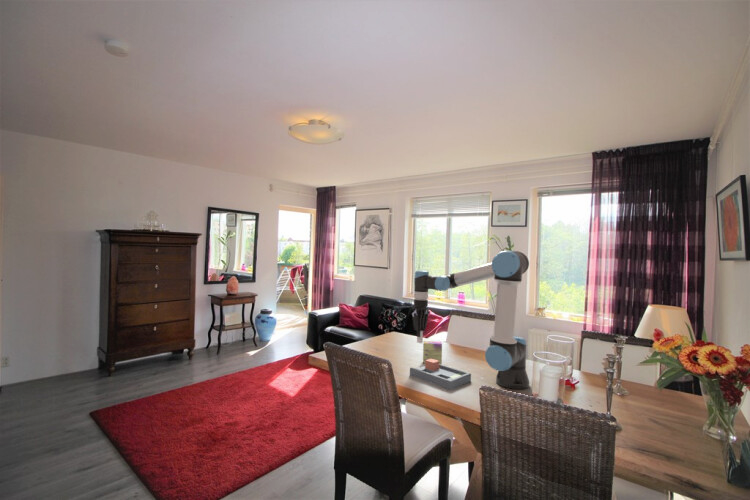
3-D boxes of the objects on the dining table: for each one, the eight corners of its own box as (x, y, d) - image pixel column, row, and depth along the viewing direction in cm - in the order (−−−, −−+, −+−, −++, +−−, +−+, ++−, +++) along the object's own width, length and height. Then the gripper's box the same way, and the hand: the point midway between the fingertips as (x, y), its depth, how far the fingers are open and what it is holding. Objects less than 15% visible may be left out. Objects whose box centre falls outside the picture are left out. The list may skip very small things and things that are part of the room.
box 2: (470, 381, 175) (470, 373, 175) (450, 390, 164) (450, 381, 164) (430, 368, 194) (430, 361, 194) (409, 375, 182) (409, 367, 182)
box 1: (440, 361, 206) (441, 341, 207) (441, 364, 201) (442, 343, 201) (422, 360, 207) (423, 340, 208) (423, 363, 202) (423, 343, 202)
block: (439, 368, 186) (439, 360, 186) (433, 370, 183) (433, 362, 183) (431, 365, 190) (431, 358, 190) (425, 367, 187) (425, 360, 187)
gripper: (423, 297, 200) (422, 339, 200) (407, 299, 191) (406, 342, 191) (433, 299, 195) (432, 342, 195) (418, 300, 186) (417, 345, 186)
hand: (419, 342), depth 193 cm, fingers closed
